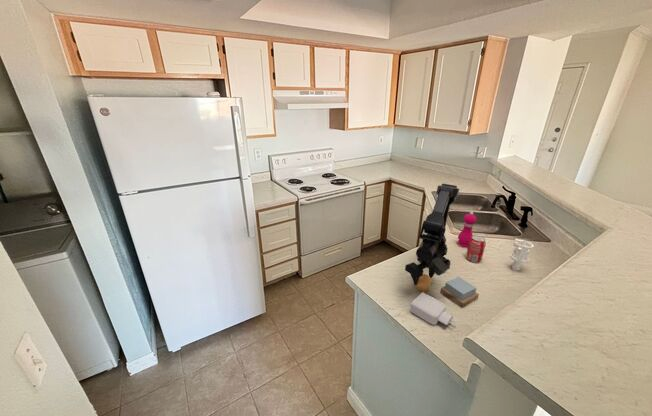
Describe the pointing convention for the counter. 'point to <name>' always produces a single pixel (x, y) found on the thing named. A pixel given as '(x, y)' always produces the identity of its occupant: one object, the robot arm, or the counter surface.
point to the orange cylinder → (423, 284)
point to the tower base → (456, 300)
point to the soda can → (475, 248)
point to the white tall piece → (520, 253)
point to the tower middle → (460, 288)
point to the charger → (431, 310)
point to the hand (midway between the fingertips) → (423, 281)
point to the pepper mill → (467, 230)
